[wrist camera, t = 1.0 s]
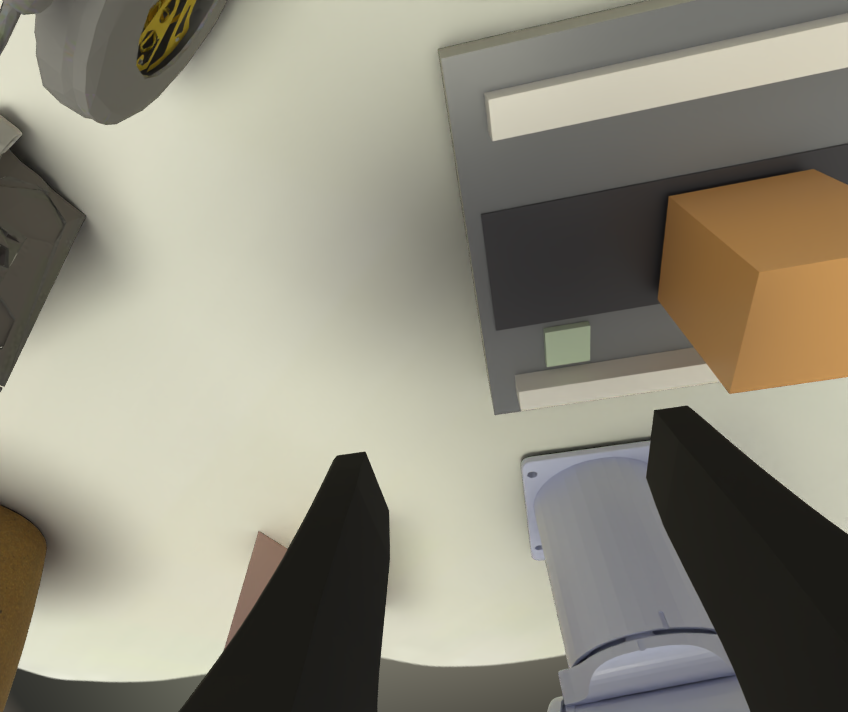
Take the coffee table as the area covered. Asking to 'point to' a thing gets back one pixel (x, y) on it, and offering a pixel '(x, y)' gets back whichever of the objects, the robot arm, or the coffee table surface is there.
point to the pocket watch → (112, 49)
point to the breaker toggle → (761, 278)
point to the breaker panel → (623, 173)
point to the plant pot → (17, 590)
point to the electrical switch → (27, 246)
